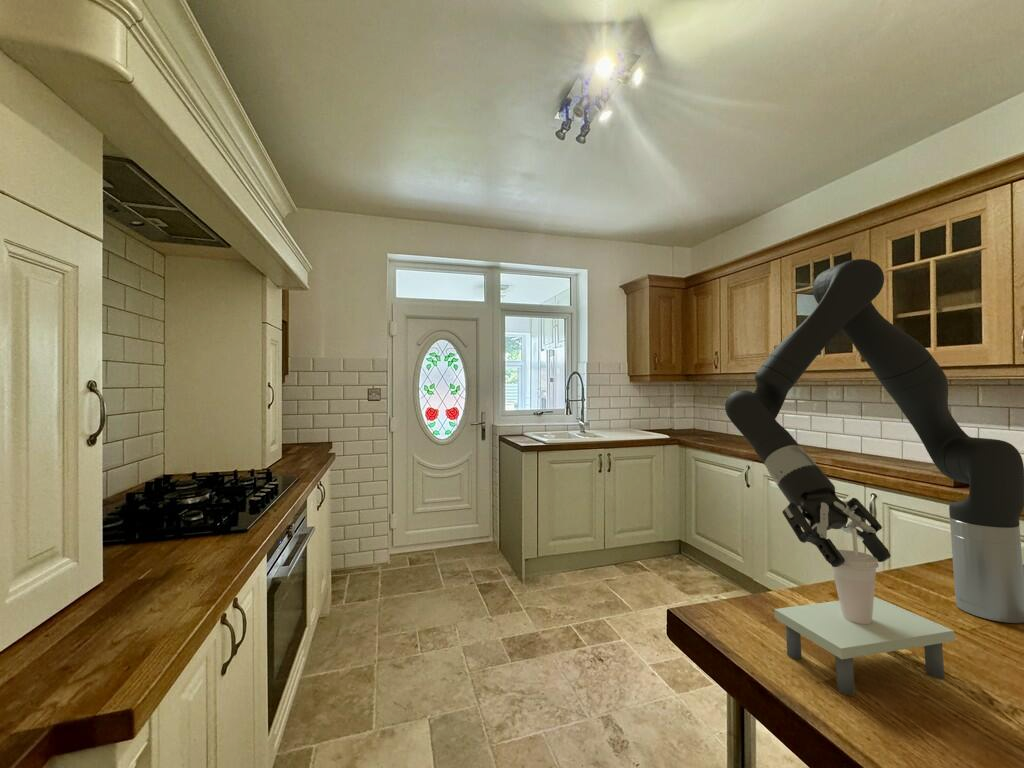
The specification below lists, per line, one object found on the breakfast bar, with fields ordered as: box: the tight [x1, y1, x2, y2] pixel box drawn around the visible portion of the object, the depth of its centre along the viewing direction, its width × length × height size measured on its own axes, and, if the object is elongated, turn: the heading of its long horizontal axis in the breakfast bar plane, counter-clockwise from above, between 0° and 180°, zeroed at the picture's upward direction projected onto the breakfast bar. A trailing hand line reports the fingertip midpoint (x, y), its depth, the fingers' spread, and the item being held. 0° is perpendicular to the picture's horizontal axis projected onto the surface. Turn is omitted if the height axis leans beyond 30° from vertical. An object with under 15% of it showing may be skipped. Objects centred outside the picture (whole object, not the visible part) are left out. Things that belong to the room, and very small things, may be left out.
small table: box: [774, 596, 956, 697], centre depth 69 cm, size 20×12×7 cm, turn 101°
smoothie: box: [831, 527, 880, 624], centre depth 69 cm, size 6×6×14 cm
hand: (862, 562), depth 68 cm, fingers open, 8 cm apart
